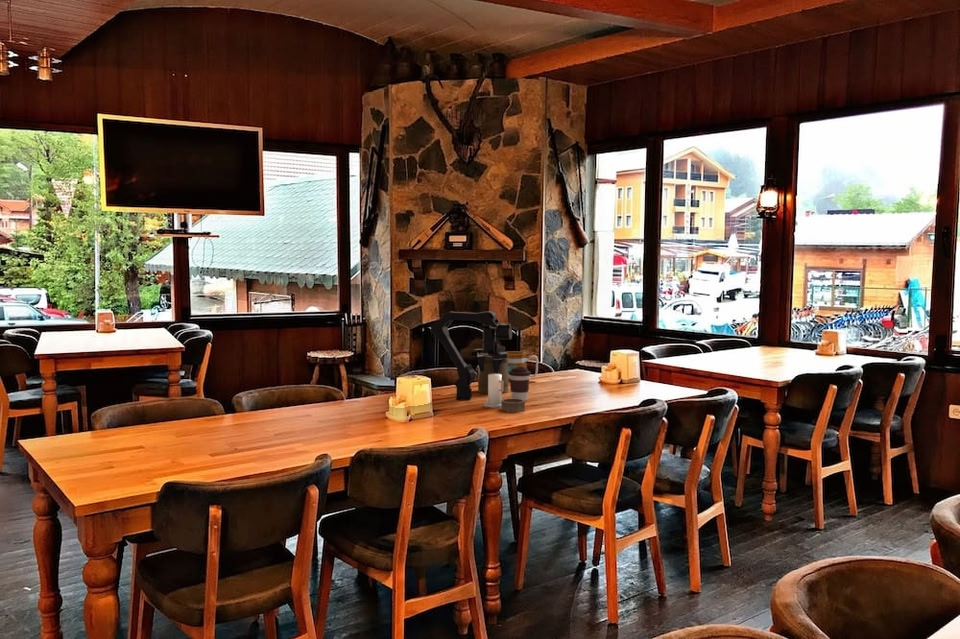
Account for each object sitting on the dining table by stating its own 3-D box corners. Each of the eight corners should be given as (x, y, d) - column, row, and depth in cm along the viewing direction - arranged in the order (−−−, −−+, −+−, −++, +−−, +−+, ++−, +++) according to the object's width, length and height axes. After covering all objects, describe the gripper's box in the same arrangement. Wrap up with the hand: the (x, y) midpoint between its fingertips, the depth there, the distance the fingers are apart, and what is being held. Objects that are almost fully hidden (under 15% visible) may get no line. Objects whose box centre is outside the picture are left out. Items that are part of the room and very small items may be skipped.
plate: (483, 407, 335) (483, 405, 335) (484, 403, 345) (484, 401, 345) (506, 408, 334) (506, 406, 334) (506, 403, 344) (506, 401, 344)
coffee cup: (530, 398, 357) (530, 366, 356) (529, 402, 348) (530, 369, 346) (509, 397, 358) (509, 366, 357) (508, 401, 348) (508, 369, 347)
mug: (499, 382, 402) (499, 354, 400) (503, 378, 415) (503, 351, 414) (537, 383, 398) (537, 355, 397) (539, 379, 412) (539, 351, 410)
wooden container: (489, 387, 386) (489, 344, 384) (514, 390, 377) (514, 346, 375) (472, 392, 374) (472, 347, 372) (497, 395, 365) (497, 349, 363)
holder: (496, 409, 331) (496, 400, 331) (513, 406, 338) (513, 397, 338) (512, 413, 324) (512, 403, 323) (529, 410, 330) (529, 400, 330)
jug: (485, 403, 340) (485, 374, 338) (495, 401, 344) (495, 373, 342) (497, 406, 334) (497, 376, 333) (507, 404, 338) (507, 375, 337)
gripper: (516, 339, 348) (515, 373, 349) (488, 335, 362) (488, 368, 363) (498, 341, 340) (498, 375, 342) (470, 337, 354) (470, 370, 355)
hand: (489, 372), depth 351 cm, fingers open, 9 cm apart
